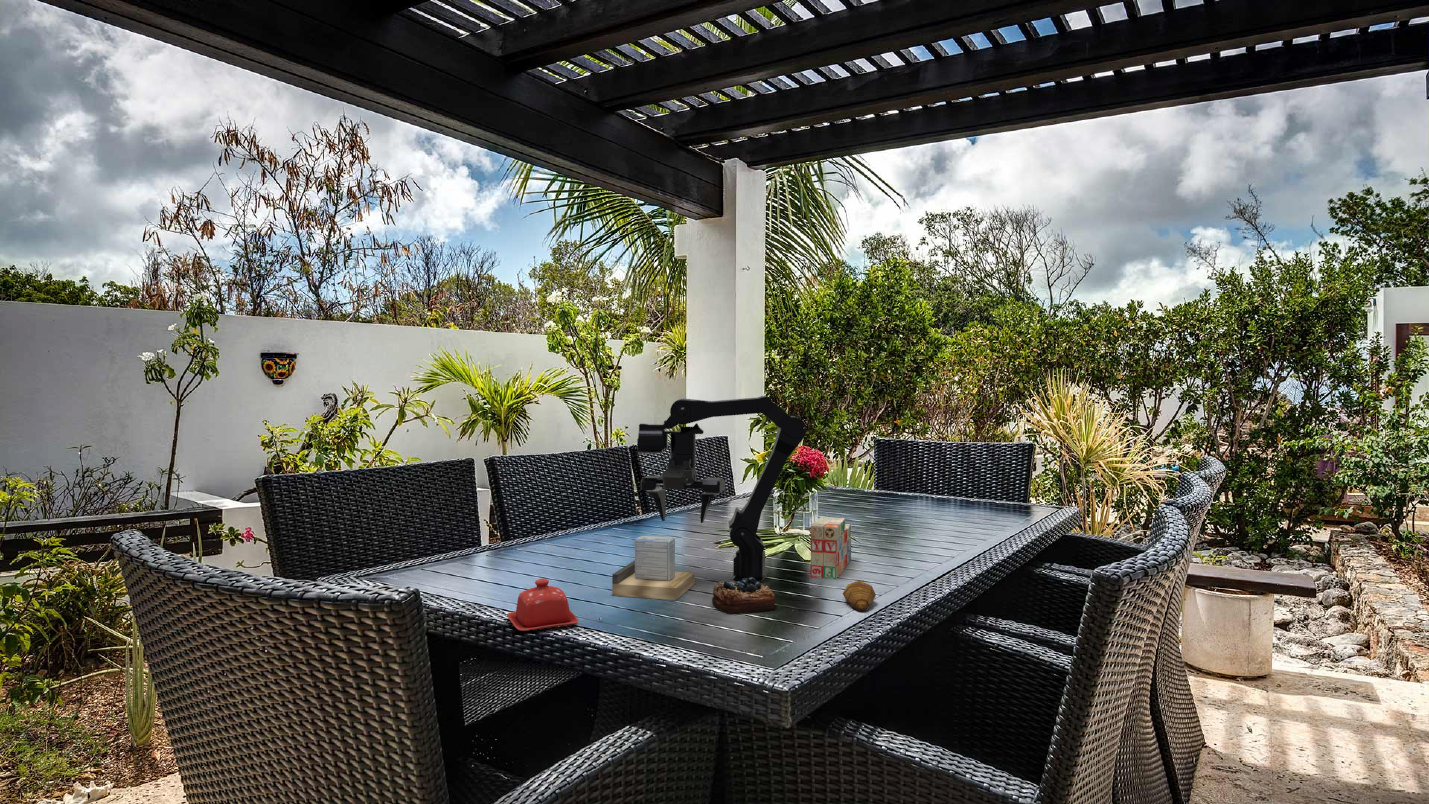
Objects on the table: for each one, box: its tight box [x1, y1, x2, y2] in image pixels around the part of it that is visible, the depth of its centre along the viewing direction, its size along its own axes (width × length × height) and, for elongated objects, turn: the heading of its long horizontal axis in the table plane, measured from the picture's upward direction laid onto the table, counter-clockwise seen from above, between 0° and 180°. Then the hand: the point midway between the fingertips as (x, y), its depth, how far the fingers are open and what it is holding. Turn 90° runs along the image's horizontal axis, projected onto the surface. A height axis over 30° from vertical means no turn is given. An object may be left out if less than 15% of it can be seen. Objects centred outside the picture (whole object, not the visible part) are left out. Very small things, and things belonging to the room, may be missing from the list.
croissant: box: [842, 580, 877, 612], centre depth 164 cm, size 14×7×5 cm, turn 176°
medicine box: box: [634, 535, 676, 581], centre depth 174 cm, size 8×4×9 cm, turn 75°
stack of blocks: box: [809, 516, 852, 580], centre depth 195 cm, size 21×6×12 cm, turn 162°
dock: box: [611, 560, 696, 601], centre depth 174 cm, size 14×14×4 cm
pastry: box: [711, 578, 776, 615], centre depth 162 cm, size 11×12×6 cm
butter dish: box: [506, 578, 579, 632], centre depth 150 cm, size 12×12×8 cm
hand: (682, 521), depth 184 cm, fingers open, 9 cm apart
